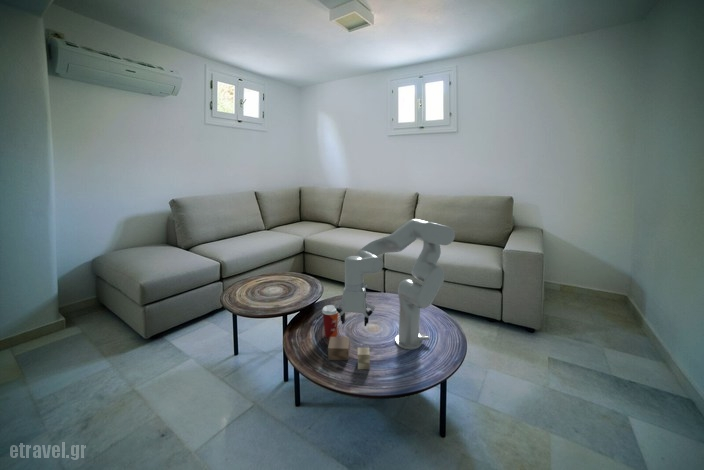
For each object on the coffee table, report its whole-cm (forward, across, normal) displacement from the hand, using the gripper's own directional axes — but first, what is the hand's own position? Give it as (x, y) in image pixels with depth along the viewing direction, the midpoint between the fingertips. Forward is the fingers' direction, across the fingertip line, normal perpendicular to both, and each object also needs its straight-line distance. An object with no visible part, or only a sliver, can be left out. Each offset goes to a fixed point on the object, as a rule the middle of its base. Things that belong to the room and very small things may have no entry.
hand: (354, 323), depth 128 cm
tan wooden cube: (+19, +8, -4) cm, 21 cm away
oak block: (+18, -4, +2) cm, 19 cm away
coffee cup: (+19, +16, -18) cm, 30 cm away
